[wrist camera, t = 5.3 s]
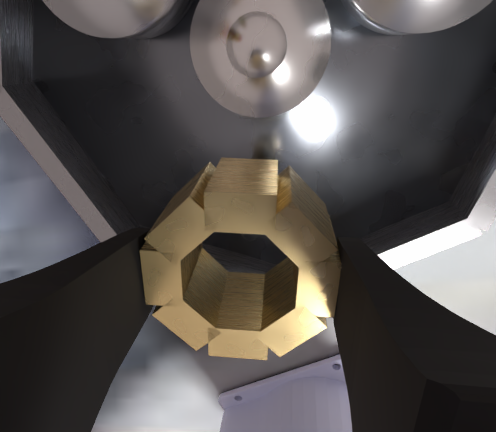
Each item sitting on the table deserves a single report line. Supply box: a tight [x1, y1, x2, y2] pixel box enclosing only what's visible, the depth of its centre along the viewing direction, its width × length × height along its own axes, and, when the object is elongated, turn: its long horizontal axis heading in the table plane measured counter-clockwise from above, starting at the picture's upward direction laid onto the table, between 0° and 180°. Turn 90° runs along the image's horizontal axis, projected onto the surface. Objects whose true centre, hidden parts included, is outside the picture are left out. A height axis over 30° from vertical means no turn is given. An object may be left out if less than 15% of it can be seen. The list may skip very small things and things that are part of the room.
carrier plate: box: [0, 0, 496, 274], centre depth 14 cm, size 22×22×4 cm
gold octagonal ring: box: [140, 158, 341, 360], centre depth 12 cm, size 5×5×3 cm
